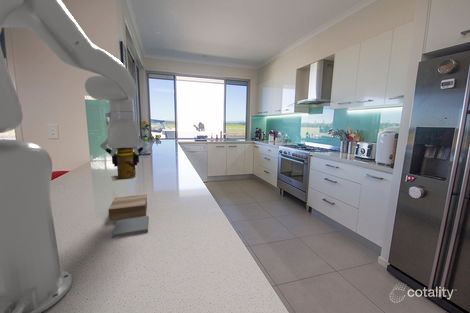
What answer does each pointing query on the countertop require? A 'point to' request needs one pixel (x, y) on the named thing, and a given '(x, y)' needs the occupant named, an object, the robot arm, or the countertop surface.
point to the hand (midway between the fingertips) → (126, 164)
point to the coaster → (131, 226)
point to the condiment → (125, 164)
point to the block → (128, 207)
